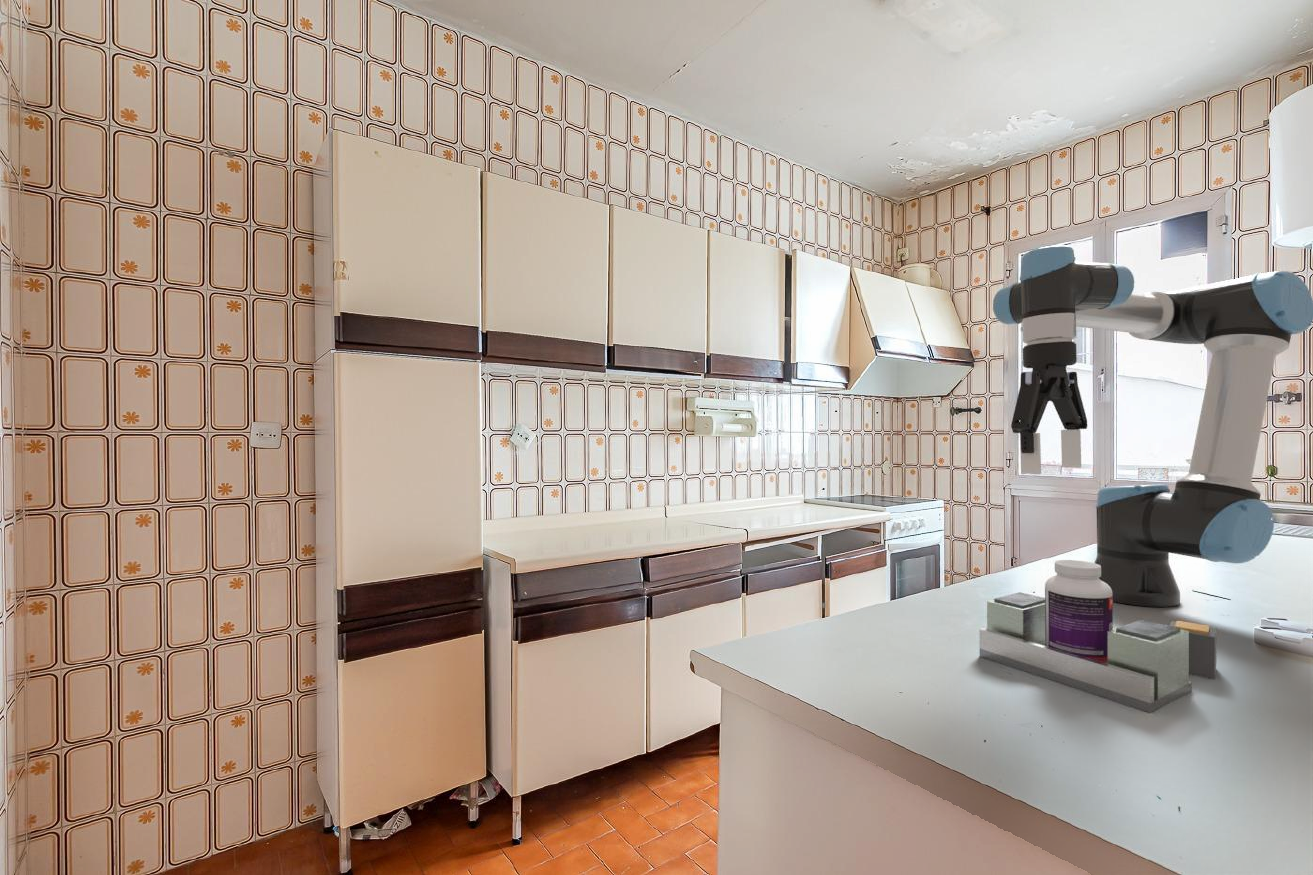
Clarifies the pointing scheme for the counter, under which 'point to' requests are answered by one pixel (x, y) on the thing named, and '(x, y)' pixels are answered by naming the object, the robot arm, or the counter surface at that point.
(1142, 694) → the rail plate
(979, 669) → the counter surface
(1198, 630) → the block
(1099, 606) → the pill bottle
